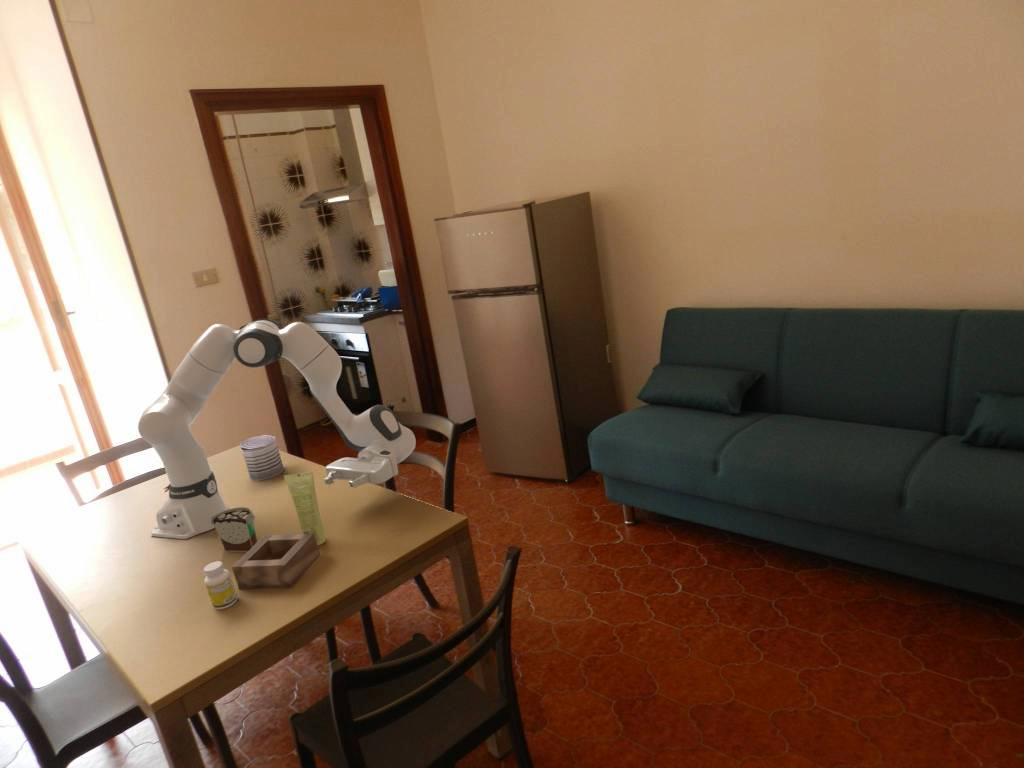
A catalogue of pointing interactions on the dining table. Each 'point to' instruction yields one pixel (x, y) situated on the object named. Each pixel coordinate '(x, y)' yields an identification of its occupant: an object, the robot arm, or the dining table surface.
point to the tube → (306, 504)
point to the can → (262, 457)
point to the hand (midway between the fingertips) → (338, 483)
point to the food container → (235, 529)
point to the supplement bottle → (219, 586)
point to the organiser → (276, 561)
